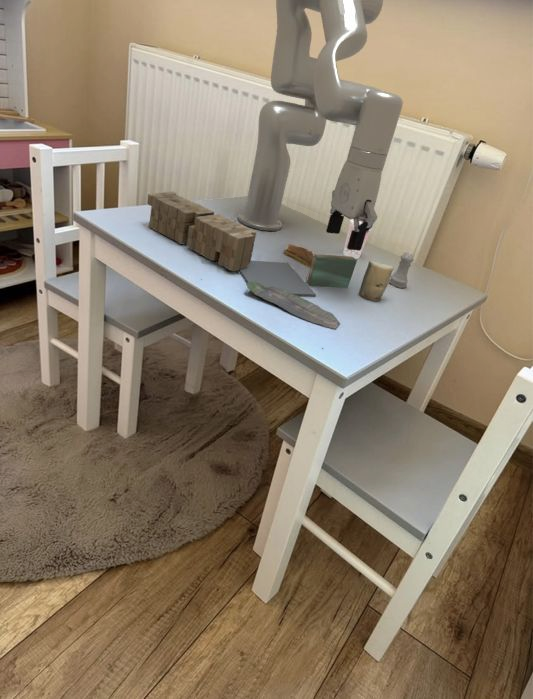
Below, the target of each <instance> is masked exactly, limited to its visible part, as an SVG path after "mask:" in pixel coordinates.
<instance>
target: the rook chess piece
mask: <svg viewBox="0 0 533 699" xmlns="http://www.w3.org/2000/svg"><path fill="white" fill-rule="evenodd" d="M412 262H414V255H413V254H410V253H409V252H403V253H402V255H401V256H400V261H399V265H398V267H397V269H396V270H395V272H393V274H391V277H390V280H389V284H390V285H391V286H393V287H395V288H398V289H405V288H406V287H407V284H408V283H409V282H408V281H409V280H408V273H409V269H410V267H411V263H412Z"/></svg>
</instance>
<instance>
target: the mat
mask: <svg viewBox="0 0 533 699" xmlns="http://www.w3.org/2000/svg"><path fill="white" fill-rule="evenodd" d="M237 271H238V273H239V274H240V275H241V277H242V278H243V280H244V281H245V282H246V283H245V284H247V283H249V282H250V281H255V282H257V283H260V284H262V285H263V286H264V287H277V288H281V289H283V290H287V291H288V292H291V293H292V294H294V295H297V296H299V297H301V298H304V297H307V298H309V297H310V298H315V297H316V296H317V294H316V293H315V291H314V290H313V289H312V287H310V286H309V285H308V284H307V283H306V281H305V280H304V279H303V278H302V277H301V275H299V273H298V272H297V271H296V270H295V268H293V266H292V265H290V263H289V262H281V261H268V260H267V261H265V260H251V261H250V263H248V266H247V268H244V269H239V270H237ZM252 293H253V294H254V292H252Z"/></svg>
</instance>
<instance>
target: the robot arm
mask: <svg viewBox="0 0 533 699" xmlns="http://www.w3.org/2000/svg"><path fill="white" fill-rule="evenodd" d="M383 5H384V0H275V8H276V19H277V20H276V25H277V26H276V35H275V36H276V37H275V43H274V50H273V57H272V63H271V64H272V65H271V70H270V71H271V73H270V85H271V88H272V90H273V91H274V92H275V93H277V94H280V95H281V96H282V95H283V96H286V97H290V98H294V99H295V98H296V99H301V100H304V105H302V104H298V103H295V102H289V101H283V100H271V101H268V102H267V103H265V104H264V105H263V106H262V107H261V110H260V111H259V115H258V134H257V135H258V136H257V144H256V151H255V156H254V162H253V166H252V167H253V168H252V171H251V172H252V173H251V177H250V183H249V188H248V193H247V199H246V203H245V207H244V211H241V212H238V215H237V220H238V221H239V222H240V224H241V223H242V225H244V226H246V227H248V228H249V227H250V228H252V229H256V230H259V231H268V232H275V231H280V230H281V229H282V227H283V223H282V221H281V220H280V219H279V215H280V212H281V207H282V204H283V203H282V202H283V198H284V193H285V189H286V185H287V181H288V177H289V173H290V169H291V168H290V167H291V157H290V154H289V150H288V148H287V145H298V146H302V147H303V146H304V147H313V146H316V145H318V144H319V143H320V142H321V141H322V138H323V136H324V133H325V129H326V125H327V121H330V122H334V123H340V124H347V125H351V126H355V128H354V131H353V135H352V140H351V143H350V147H349V150H348V154H347V157H346V160H345V162H344V164H343V166H342V168H341V170H340V173H339V176H338V179H337V181H336V185H335V188H334V189H333V190H332V191H331V200H330V207H331V209H330V210H329V213H330V215H329V220H328V223H327V226H326V233H327V234H333V235H334V234H335V235H339V234H340V233H341V230H342V229H341V228H342V226H343V223H344V218H347V219H348V220H351V219H353V220H354V230H352V232H351V235H350V239H349V242H348V246H347V248H348V249H349V250H361V248H362V245H363V242H364V238H365V235H366V233H368V232H369V229H371V228H372V226H373V225H374V223H375V222H376V221H377V219H378V215H377V212H376V210H375V207H376V203H377V198H378V196H379V191H380V185H381V180H382V175H383V174H382V173H383V172H384V171H383V170H384V167H385V164H386V161H387V158H388V154H389V152H390V148H391V144H392V142H393V141H392V140H393V138H394V135H395V131H396V128H397V125H398V121H399V118H400V115H401V112H402V109H403V103H404V101H403V99H402V97H401V96H399V95H397V94H395V93H392V92H387V91H383V90H381V89H379V88H377V87H375V86H374V87H373V86H369V85H365V84H362V83H358V82H354V81H349V80H345V79H340V76H339V71H338V65H337V62H339V61H343V60H347V59H349V58H352V57H353V56H355V55H356V54H358V53H360V51H361V50H362V49H363V48H364V47H365V45H366V43H367V41H368V31H367V25H369V24H372V23H373V22H375V21H376V19H378V17H379V15H380V14H381V12H382V9H383ZM305 9H308V10H310V11H311V10H312V11H314V12H317V13H320V17H321V23H322V29H323V34H324V40H325V44H324V46H323V47H322V48H321V50H320V52H319V54H318V56H317V58H316V57H312V56H311V55H310V54H311V53H310V50H311V44H312V38H313V35H312V28H311V24H310V20H309V18H308V15H307V13H306V11H305ZM359 221H363V223H362V224H360V225H359ZM373 227H374V226H373ZM372 229H373V228H372Z"/></svg>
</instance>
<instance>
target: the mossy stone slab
mask: <svg viewBox="0 0 533 699" xmlns="http://www.w3.org/2000/svg"><path fill="white" fill-rule="evenodd" d="M245 285H246V288H247V289H248V290H249V291H251V292H252V293H253V292H254V293H253V295H254V296H257V297H260V298H262V299H263V300H265V301H268V302H270V303H271V304H272V303H273V304H274V305H277V306H278V307H280V308H282V310H285V311H286V312H288V313H290V314H291V315H294V316H296V317H298V318H301V319H303V320H306V321H307V322H311V323H313V324H317V325H321V326H323V327H325V328H326V327H327V328H330V329H332V330H335V329H337V327H338V326H340V325H341V323H340V321H339V320H338V318H337V317H336V316H335V315H334V314H333V313H332V312H330V311H327V310H325V309H323V308H322V307H321V306H319V305H317V304H315V303H314V302H312V301H310V300H307V299H305V298H304V297H301V296H297V295H294V294H292V293H291V292H288V291H287V290H283V289H281V288H277V287H264V286H263V285H262V284H260V283H257V282H255V281H250V282H249V283H245Z"/></svg>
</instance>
